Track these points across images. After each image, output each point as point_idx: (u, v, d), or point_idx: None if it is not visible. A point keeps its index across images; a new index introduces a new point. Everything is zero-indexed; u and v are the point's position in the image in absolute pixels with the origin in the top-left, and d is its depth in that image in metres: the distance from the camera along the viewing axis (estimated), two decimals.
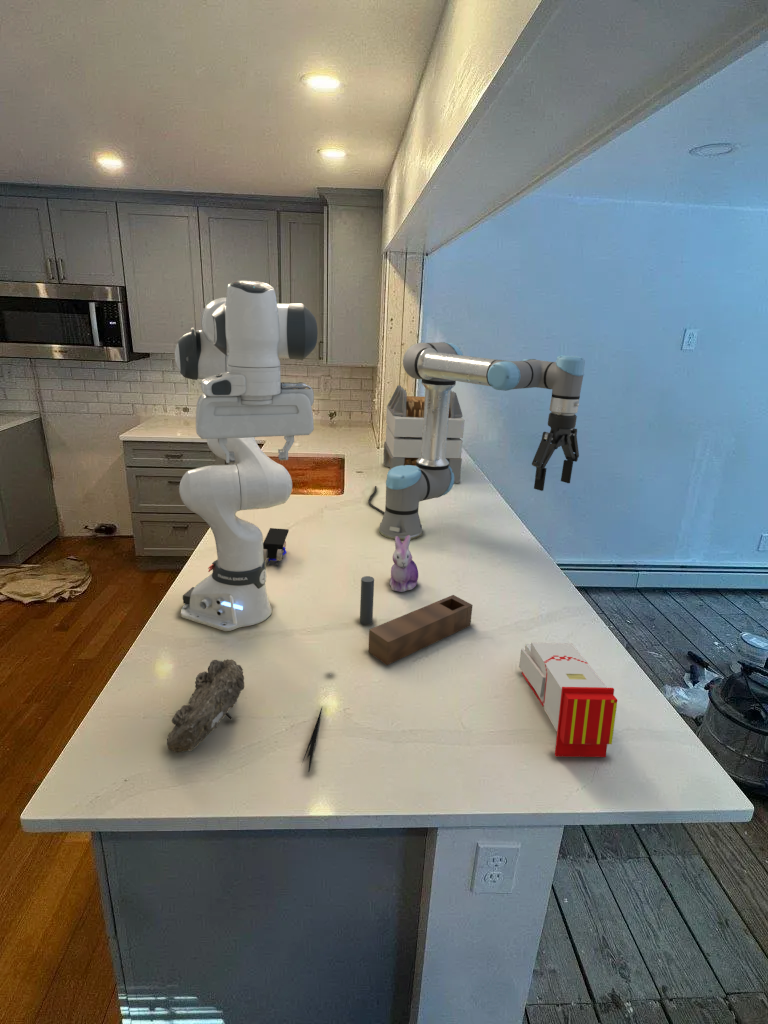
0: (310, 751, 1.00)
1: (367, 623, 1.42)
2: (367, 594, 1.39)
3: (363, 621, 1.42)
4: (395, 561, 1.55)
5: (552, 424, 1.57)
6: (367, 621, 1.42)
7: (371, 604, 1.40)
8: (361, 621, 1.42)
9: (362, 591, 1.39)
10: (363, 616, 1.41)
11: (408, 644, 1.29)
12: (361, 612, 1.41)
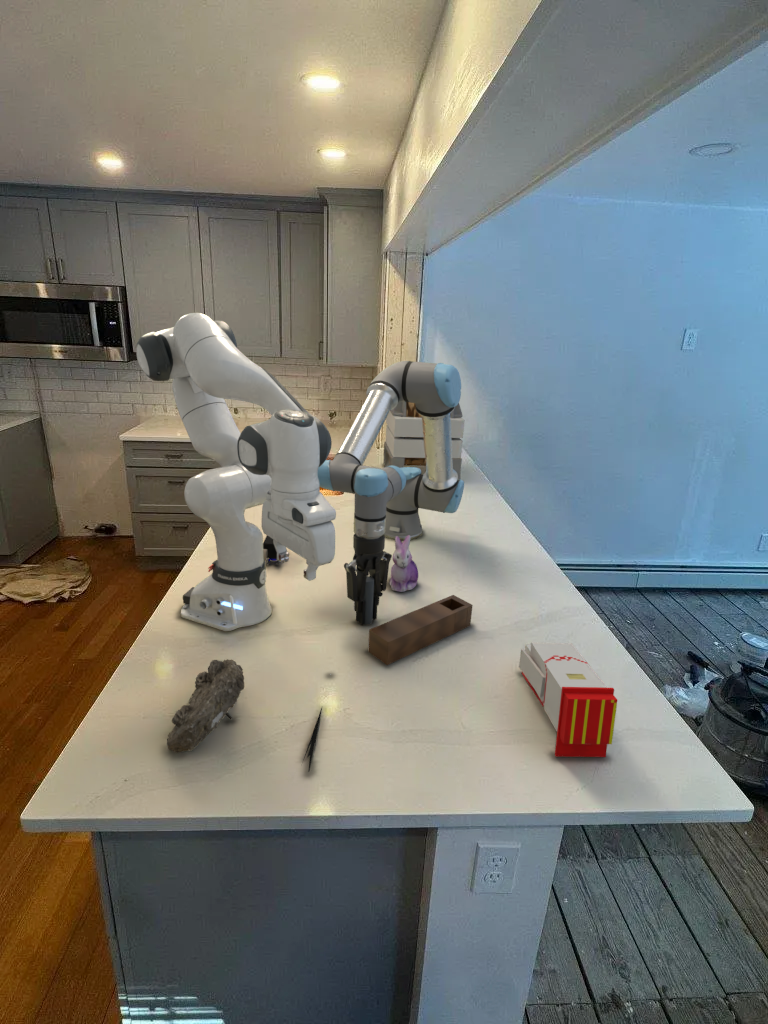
0: (310, 751, 1.00)
1: (367, 623, 1.42)
2: (367, 594, 1.39)
3: None
4: (395, 561, 1.55)
5: (355, 547, 1.34)
6: (367, 621, 1.42)
7: (371, 604, 1.40)
8: None
9: None
10: None
11: (408, 644, 1.29)
12: None
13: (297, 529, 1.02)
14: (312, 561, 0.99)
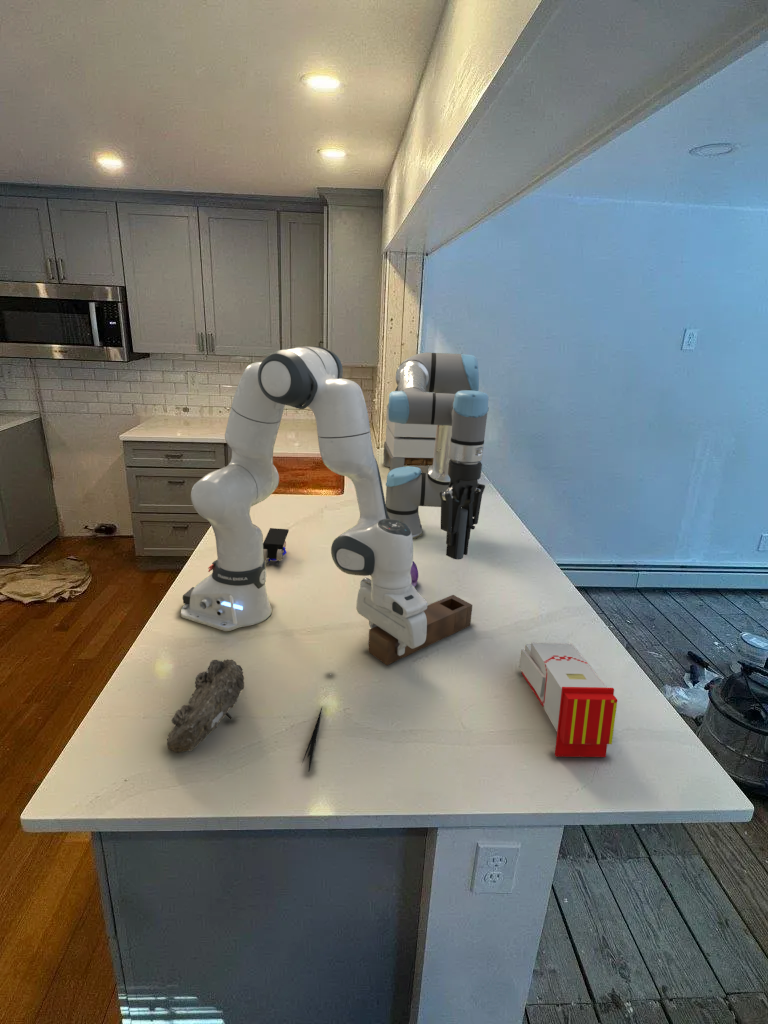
0: (310, 751, 1.00)
1: (459, 558, 1.35)
2: (461, 526, 1.33)
3: None
4: None
5: (451, 474, 1.28)
6: (459, 555, 1.35)
7: (464, 537, 1.34)
8: None
9: None
10: None
11: None
12: None
13: (394, 616, 1.23)
14: (408, 644, 1.21)
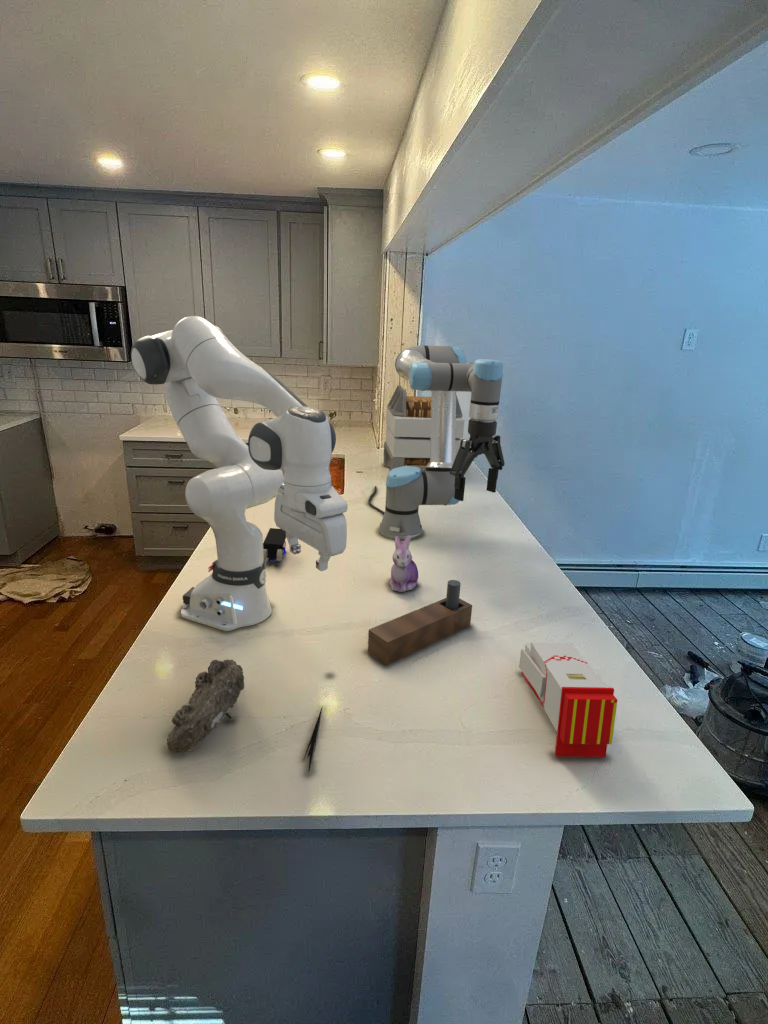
0: (310, 751, 1.00)
1: None
2: (454, 598, 1.39)
3: None
4: (395, 561, 1.55)
5: (471, 431, 1.50)
6: None
7: (457, 608, 1.41)
8: None
9: (449, 595, 1.39)
10: None
11: (408, 644, 1.29)
12: None
13: (310, 521, 1.06)
14: (324, 552, 1.03)
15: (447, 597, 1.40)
